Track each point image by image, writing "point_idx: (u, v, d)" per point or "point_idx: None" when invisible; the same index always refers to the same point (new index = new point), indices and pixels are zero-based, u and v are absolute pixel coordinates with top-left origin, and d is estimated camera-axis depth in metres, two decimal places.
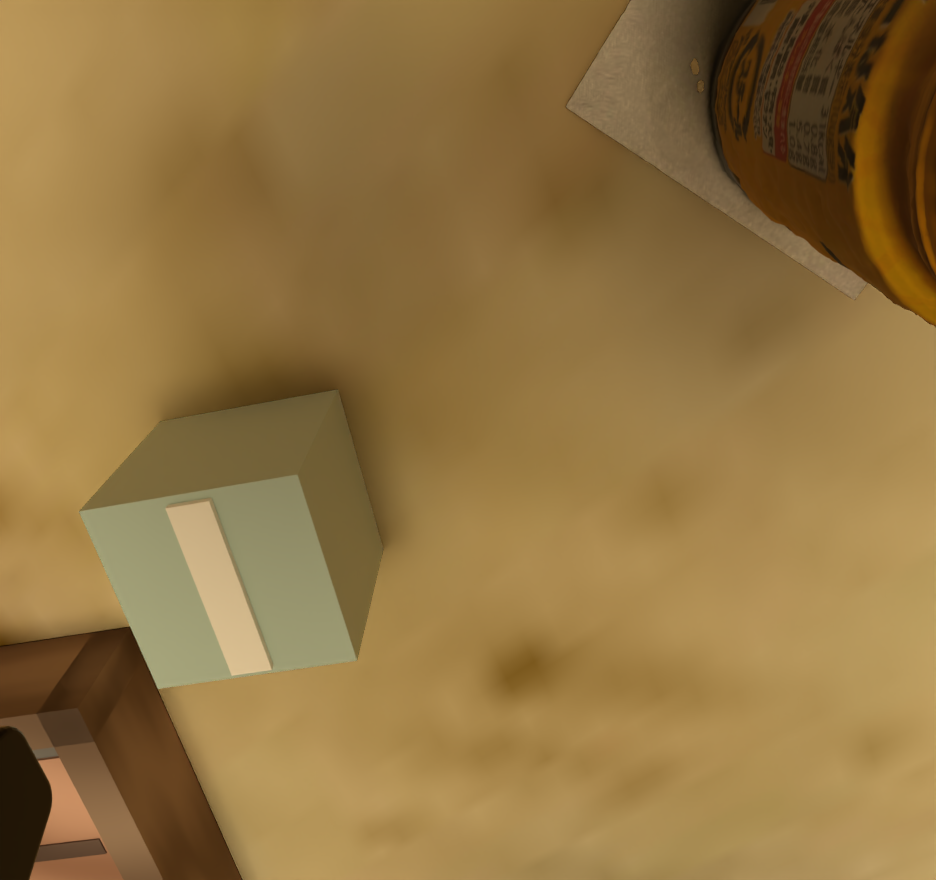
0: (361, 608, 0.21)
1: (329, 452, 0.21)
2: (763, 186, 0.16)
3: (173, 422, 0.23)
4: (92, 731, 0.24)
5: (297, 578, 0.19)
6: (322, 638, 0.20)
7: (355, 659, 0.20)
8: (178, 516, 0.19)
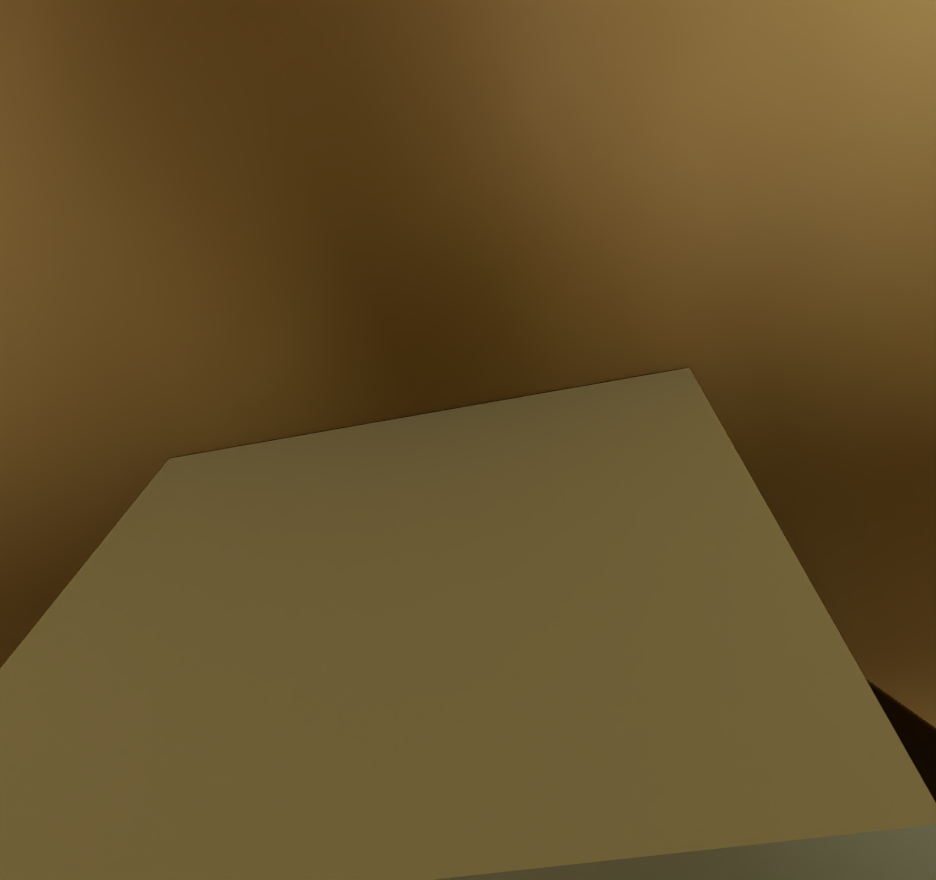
0: None
1: None
2: None
3: (204, 467, 0.08)
4: None
5: None
6: None
7: None
8: None
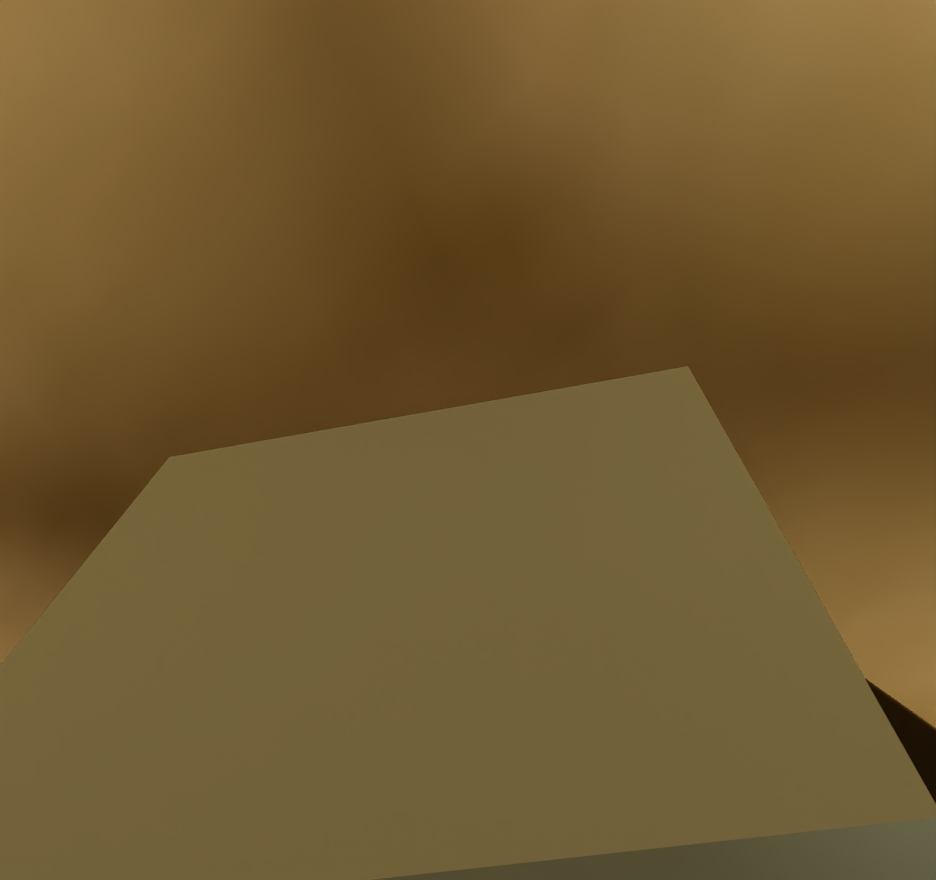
0: None
1: None
2: None
3: (204, 465, 0.08)
4: None
5: None
6: None
7: None
8: None
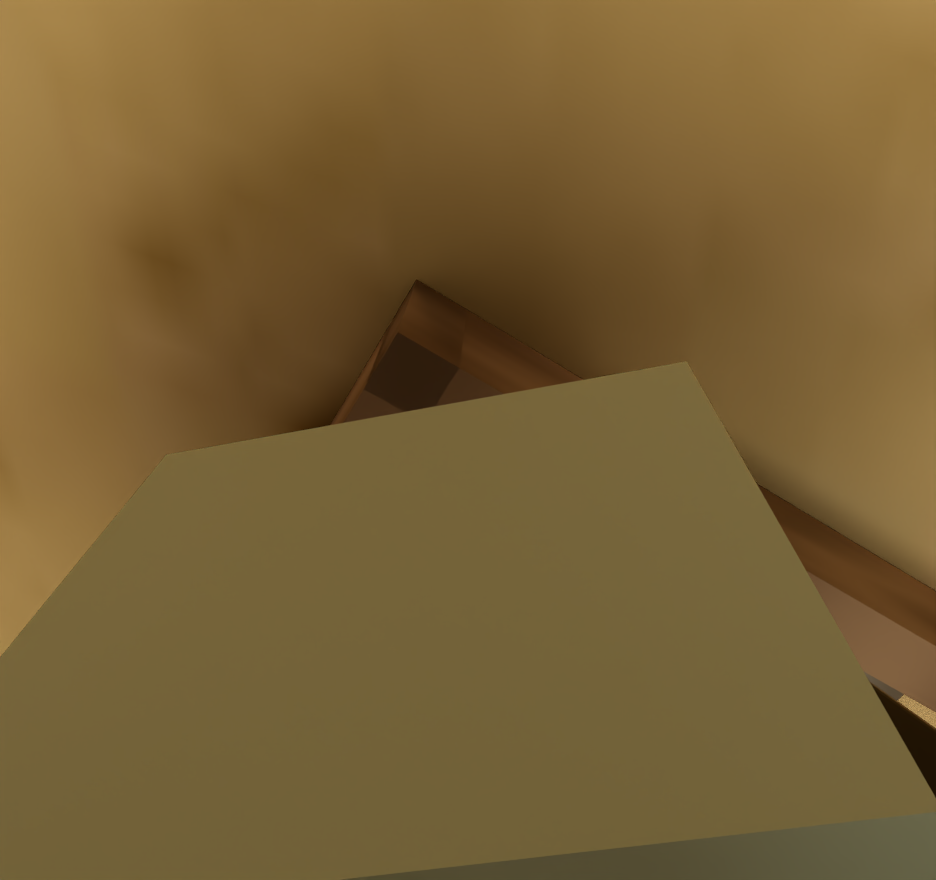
0: None
1: None
2: None
3: (201, 462, 0.08)
4: (447, 359, 0.15)
5: None
6: None
7: None
8: None
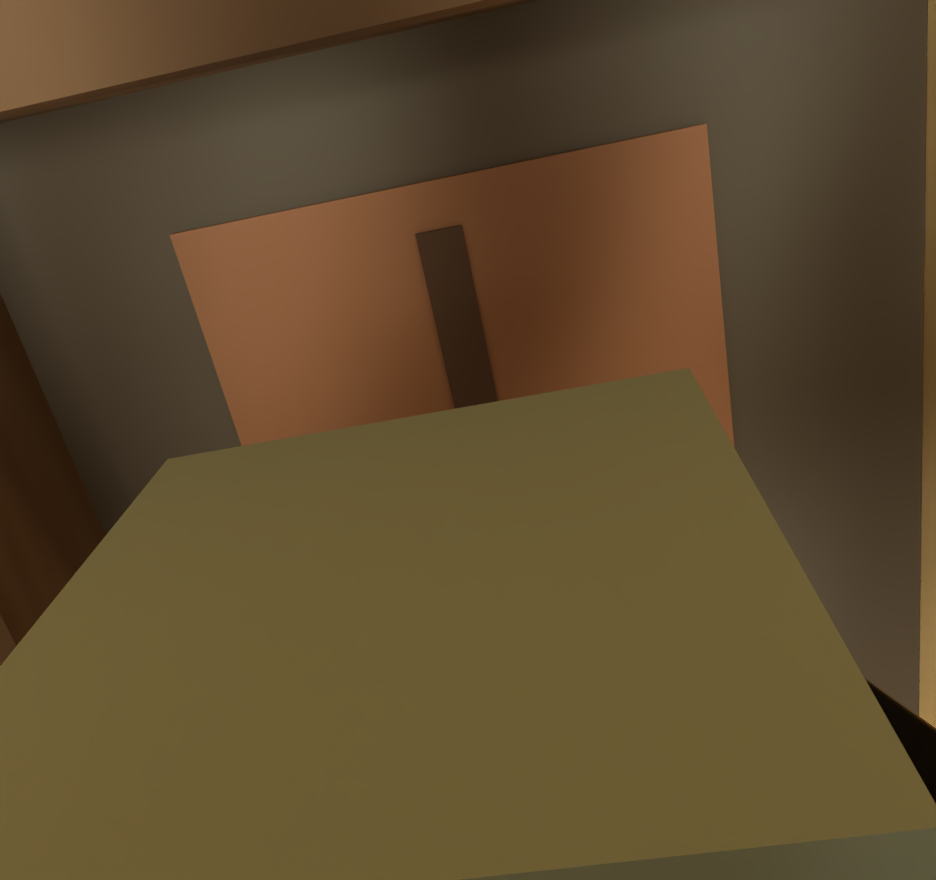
0: None
1: None
2: None
3: (203, 467, 0.08)
4: None
5: None
6: None
7: None
8: None
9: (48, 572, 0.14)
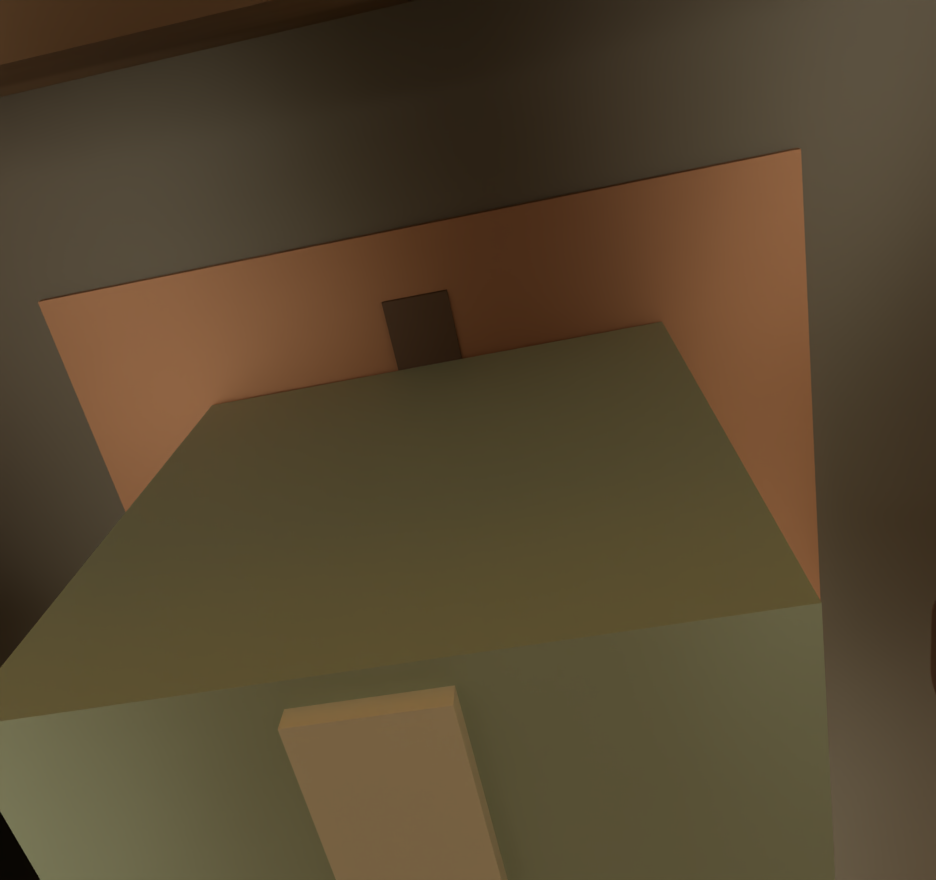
0: None
1: None
2: None
3: (244, 410, 0.09)
4: None
5: None
6: None
7: None
8: (326, 756, 0.05)
9: None
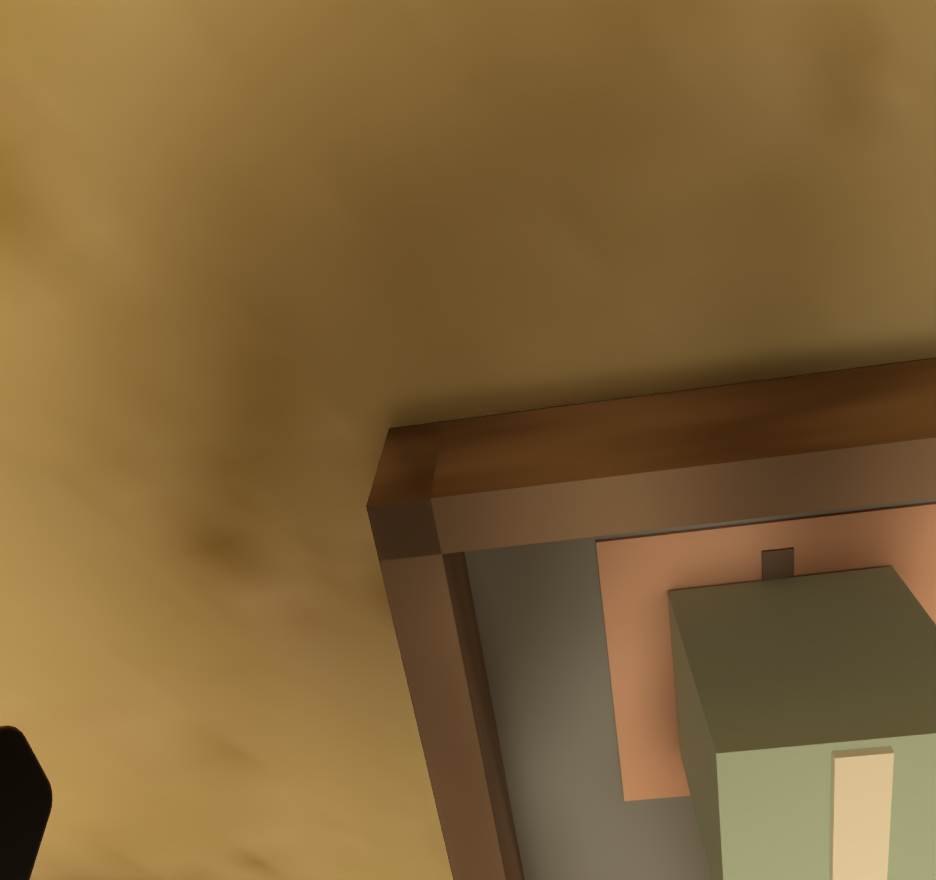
0: None
1: None
2: None
3: (692, 597, 0.19)
4: (418, 497, 0.16)
5: None
6: None
7: None
8: (847, 767, 0.15)
9: (491, 758, 0.20)
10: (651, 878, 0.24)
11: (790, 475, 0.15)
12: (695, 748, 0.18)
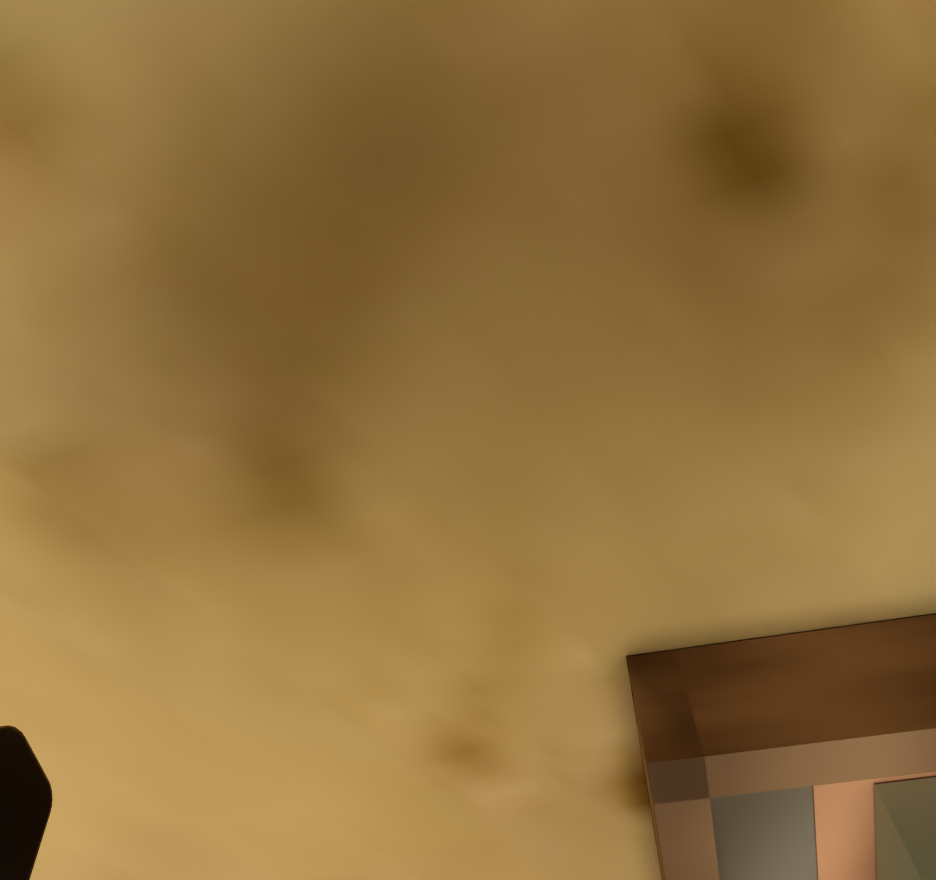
0: None
1: None
2: None
3: (900, 793, 0.22)
4: (691, 753, 0.18)
5: None
6: None
7: None
8: None
9: None
10: None
11: None
12: None
